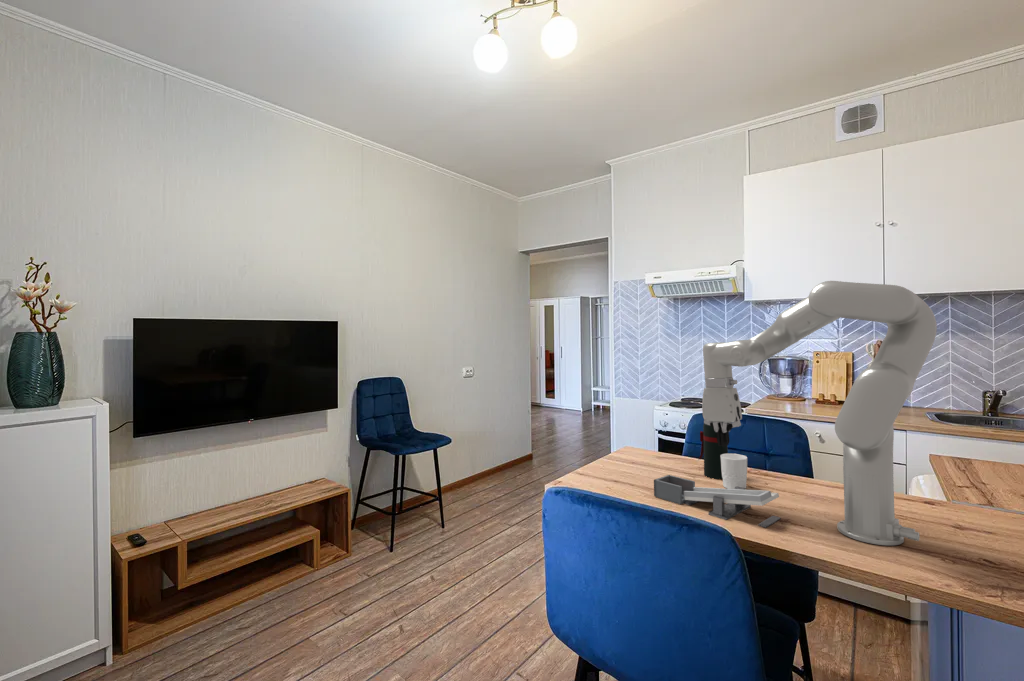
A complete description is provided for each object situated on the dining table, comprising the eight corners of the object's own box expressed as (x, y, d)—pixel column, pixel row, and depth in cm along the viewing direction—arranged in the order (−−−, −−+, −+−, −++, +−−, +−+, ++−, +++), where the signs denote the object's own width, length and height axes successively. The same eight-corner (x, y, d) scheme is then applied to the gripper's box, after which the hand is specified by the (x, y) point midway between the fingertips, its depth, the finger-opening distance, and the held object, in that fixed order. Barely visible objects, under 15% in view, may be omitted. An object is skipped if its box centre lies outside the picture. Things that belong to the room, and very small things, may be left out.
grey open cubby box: (695, 498, 135) (694, 481, 135) (680, 504, 130) (680, 486, 130) (669, 490, 142) (668, 474, 142) (654, 496, 138) (653, 479, 138)
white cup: (742, 483, 148) (741, 453, 148) (752, 491, 140) (751, 459, 141) (717, 483, 149) (716, 453, 149) (726, 491, 141) (725, 459, 141)
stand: (784, 516, 120) (784, 497, 120) (761, 530, 112) (760, 509, 112) (704, 494, 138) (704, 478, 138) (679, 505, 130) (678, 487, 130)
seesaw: (779, 496, 119) (777, 487, 120) (762, 505, 113) (760, 496, 114) (703, 492, 136) (701, 484, 137) (685, 499, 130) (683, 491, 131)
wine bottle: (705, 470, 164) (703, 388, 164) (732, 476, 156) (730, 390, 156) (693, 474, 159) (691, 390, 160) (721, 480, 151) (719, 392, 152)
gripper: (750, 382, 130) (755, 446, 129) (701, 382, 141) (705, 440, 141) (738, 385, 125) (743, 450, 124) (689, 384, 137) (693, 444, 136)
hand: (723, 445), depth 132 cm, fingers closed
